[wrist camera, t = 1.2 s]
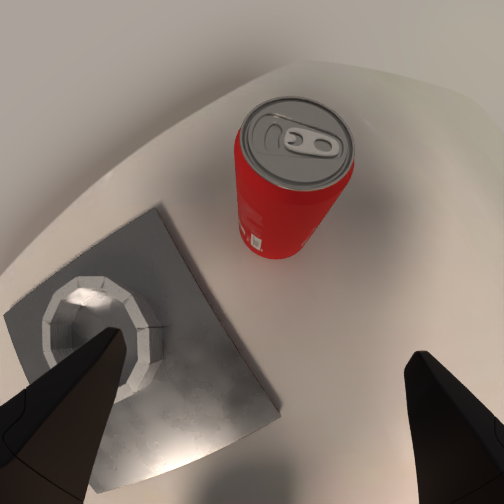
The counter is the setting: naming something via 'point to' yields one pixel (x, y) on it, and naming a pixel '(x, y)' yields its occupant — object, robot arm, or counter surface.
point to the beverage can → (289, 172)
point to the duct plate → (185, 378)
